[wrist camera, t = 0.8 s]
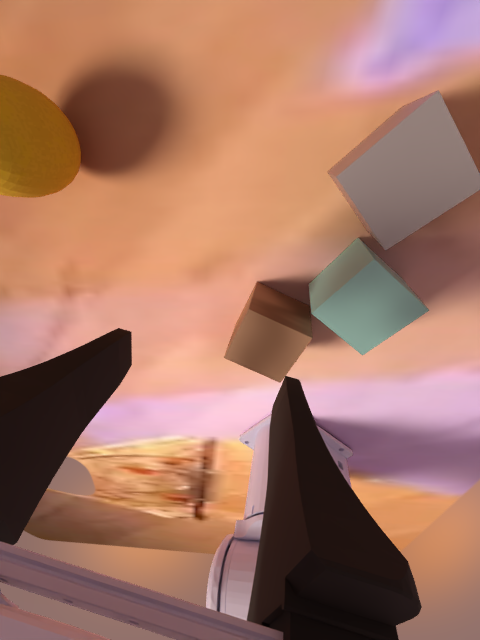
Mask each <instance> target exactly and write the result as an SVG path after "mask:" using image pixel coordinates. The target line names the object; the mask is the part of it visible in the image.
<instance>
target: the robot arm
mask: <svg viewBox="0 0 480 640" xmlns="http://www.w3.org/2000/svg"><path fill="white" fill-rule="evenodd" d="M131 365H132V352H131V332H130V331H127V330H123V329H120V328H118V329H116V330H114V331H111V332H109V333H107V334H105V335H103V336H101V337H99V338H97V339H95V340H93V341H91V342H89V343H87V344H85V345H82V346H80V347H78V348H76V349H74V350H72V351H69V352H67V353H65V354H62V355H60V356H58V357H55V358H53V359H51V360H48V361H46V362H43V363H41V364H38V365H35V366H32V367H30V368H27V369H24V370H21V371H18V372H15V373H12V374H8V375H5V376H1V377H0V582H2V583H5V584H8V585H11V586H14V587H17V588H20V589H23V590H26V591H29V592H32V593H35V594H38V595H42V596H45V597H48V598H51V599H54V600H57V601H60V602H63V603H66V604H69V605H72V606H75V607H78V608H81V609H84V610H87V611H90V612H93V613H96V614H100V615H103V616H105V617H109V618H112V619H115V620H118V621H121V622H124V623H127V624H130V625H133V626H136V627H139V628H142V629H145V630H149V631H151V632H155V633H157V634H160V635H163V636H167V637H169V638H173V639H176V640H399V639H398V635H397V630H396V625H398V624H400V623H403V622H405V621H407V620H410V619H412V618H414V617H415V616H417V615H418V614H419V612H420V610H421V603H420V600H419V596H418V593H417V589H416V585H415V581H414V578H413V575H412V573H411V570H410V567H409V564H408V561H407V560H406V559H405V557H404V556H403V555H402V554H401V552H400V551H399V550H398V549H397V548H396V546H395V545H394V544H393V543H392V542H391V540H390V539H389V538H388V537H387V536H386V534H385V533H384V532H383V531H382V530H381V528H380V527H379V526H378V525H377V523H376V522H375V521H374V519H373V518H372V517H371V515H370V514H369V513H368V511H367V510H366V509H365V507H364V506H363V504H362V503H361V502H360V500H359V499H358V497H357V496H356V494H355V493H354V491H353V490H352V488H351V483H350V477H349V471H348V465H347V458H349V457H351V456H352V455H353V452H352V450H351V449H350V448H348V447H347V446H345V445H344V444H343V443H341V442H340V441H338V440H337V439H336V438H334V437H333V436H331V435H330V434H329V433H327V432H326V431H324V430H323V429H322V428H320V427H319V426H317V425H316V423H315V420H314V418H313V416H312V413H311V411H310V408H309V406H308V403H307V400H306V397H305V395H304V392H303V389H302V386H301V382H300V381H299V380H298V379H295V378H291V377H288V376H285V378H284V381H283V383H282V386H281V388H280V390H279V393H278V395H277V397H276V400H275V402H274V405H273V408H272V414H271V415H269V416H268V417H266V418H265V419H264V420H262V421H261V422H259V423H258V424H256V425H255V426H253V427H252V428H250V429H249V430H247V431H246V432H244V433H243V434H242V435H240V437H239V440H240V441H241V442H242V443H244V444H245V445H247V446H248V447H250V448H251V449H253V450H254V451H253V458H252V465H251V472H250V479H249V486H248V493H247V500H246V506H245V513H244V520H237V521H236V526H235V532H234V534H229V535H227V536H226V537H225V538H224V540H223V541H222V543H221V544H220V546H219V547H218V549H217V551H216V553H215V556H214V558H213V562H212V565H211V569H210V574H209V580H208V587H207V600H206V607H203V606H200V605H197V604H193V603H190V602H187V601H184V600H181V599H178V598H175V597H171V596H169V595H165V594H162V593H159V592H156V591H153V590H150V589H147V588H144V587H141V586H138V585H134V584H131V583H128V582H125V581H122V580H119V579H116V578H112V577H110V576H106V575H103V574H100V573H97V572H94V571H91V570H88V569H84V568H82V567H79V566H75V565H72V564H69V563H66V562H63V561H60V560H57V559H53V558H51V557H47V556H44V555H41V554H38V553H35V552H32V551H29V550H26V549H23V548H19V547H16V546H13V545H14V544H15V543H17V541H18V540H19V538H20V536H21V534H22V532H23V530H24V528H25V527H26V525H27V523H28V521H29V519H30V517H31V516H32V514H33V512H34V510H35V508H36V507H37V505H38V503H39V501H40V500H41V498H42V496H43V494H44V493H45V491H46V489H47V488H48V486H49V484H50V482H51V481H52V479H53V477H54V476H55V474H56V472H57V471H58V469H59V468H60V466H61V464H62V463H63V461H64V459H65V458H66V456H67V455H68V453H69V452H70V450H71V449H72V447H73V446H74V444H75V442H76V441H77V439H78V438H79V436H80V435H81V433H82V432H83V431H84V429H85V428H86V427H87V425H88V424H89V423H90V421H91V420H92V419H93V418H94V416H95V415H96V414H97V413H98V411H99V410H100V409H101V408H102V406H103V405H104V404H105V403H106V401H107V400H108V399H109V398H110V396H111V395H112V394H113V393H114V391H115V390H116V389H117V387H118V386H119V385H120V383H121V382H122V380H123V379H124V377H125V375H126V374H127V372H128V370H129V369H130V367H131ZM0 640H110V639H108V638H105V637H103V636H100V635H97V634H94V633H91V632H89V631H86V630H83V629H80V628H77V627H75V626H72V625H68V624H65V623H62V622H59V621H56V620H53V619H50V618H47V617H44V616H41V615H37V614H34V613H31V612H27V611H24V610H21V609H18V606H17V605H15V604H14V603H13V602H11V601H10V600H8V599H7V598H6V597H5V596H4V595H3V594H2V593H1V590H0Z"/></svg>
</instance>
